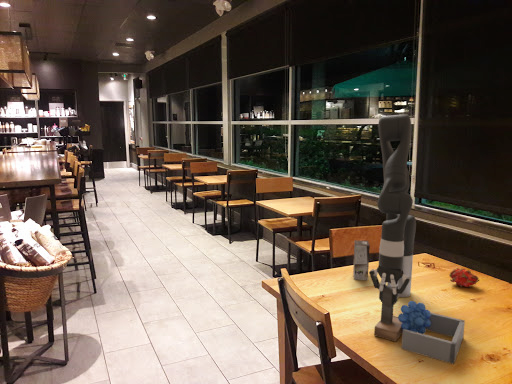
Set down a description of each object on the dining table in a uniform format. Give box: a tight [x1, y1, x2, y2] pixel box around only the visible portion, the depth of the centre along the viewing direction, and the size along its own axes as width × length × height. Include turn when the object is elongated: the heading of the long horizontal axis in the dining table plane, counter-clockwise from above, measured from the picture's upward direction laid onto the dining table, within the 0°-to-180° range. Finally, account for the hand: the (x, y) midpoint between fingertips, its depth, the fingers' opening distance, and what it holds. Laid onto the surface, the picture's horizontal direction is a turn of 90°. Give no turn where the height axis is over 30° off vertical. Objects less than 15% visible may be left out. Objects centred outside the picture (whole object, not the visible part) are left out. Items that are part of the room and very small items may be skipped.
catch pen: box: [401, 311, 466, 365], centre depth 129 cm, size 18×15×6 cm
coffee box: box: [352, 239, 371, 281], centre depth 187 cm, size 9×6×16 cm
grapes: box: [397, 300, 432, 334], centre depth 132 cm, size 12×7×12 cm, turn 100°
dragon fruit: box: [449, 267, 480, 289], centre depth 177 cm, size 8×8×12 cm
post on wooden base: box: [373, 284, 403, 343], centre depth 135 cm, size 12×7×15 cm, turn 145°
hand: (387, 302), depth 136 cm, fingers closed on post on wooden base, 3 cm apart
